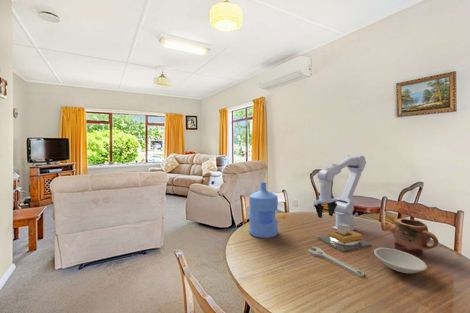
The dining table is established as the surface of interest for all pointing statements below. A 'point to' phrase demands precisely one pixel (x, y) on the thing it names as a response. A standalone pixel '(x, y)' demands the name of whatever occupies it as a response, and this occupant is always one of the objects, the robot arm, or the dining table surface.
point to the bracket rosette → (345, 241)
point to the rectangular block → (344, 229)
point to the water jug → (263, 213)
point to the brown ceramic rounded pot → (412, 236)
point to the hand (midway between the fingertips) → (325, 216)
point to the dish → (400, 260)
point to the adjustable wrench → (335, 261)
